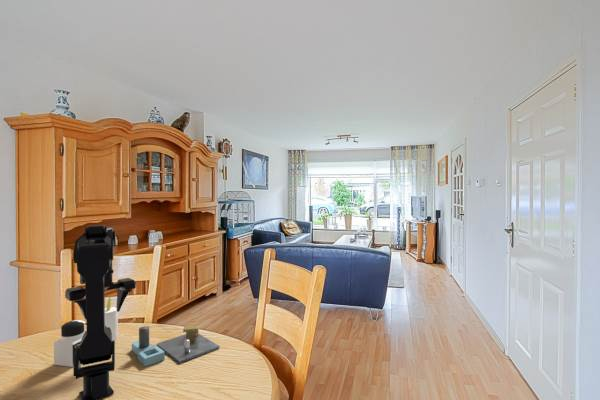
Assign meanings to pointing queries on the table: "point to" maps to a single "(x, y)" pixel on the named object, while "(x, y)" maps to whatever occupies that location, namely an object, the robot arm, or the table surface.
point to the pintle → (187, 345)
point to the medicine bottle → (68, 343)
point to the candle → (111, 319)
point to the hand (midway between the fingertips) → (102, 315)
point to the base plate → (197, 344)
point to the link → (147, 349)
